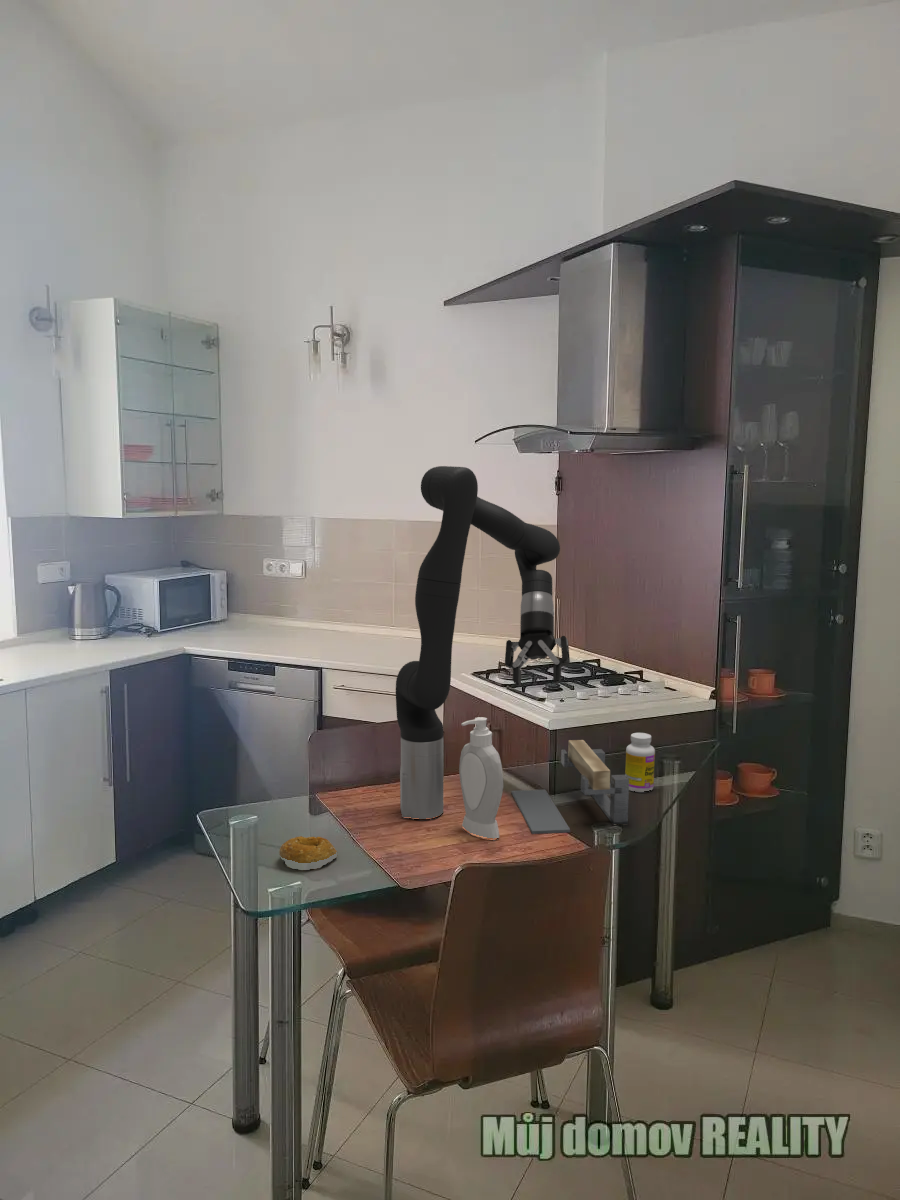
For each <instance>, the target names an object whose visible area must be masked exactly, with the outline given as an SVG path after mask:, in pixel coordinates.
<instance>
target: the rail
mask: <svg viewBox="0 0 900 1200" xmlns="http://www.w3.org/2000/svg"><path fill="white" fill-rule="evenodd" d="M567 742H568V750H567V753H568V758H569V759H570V760H571V761H572V763H573V764H574V765H575V767H574V768H576V769H577V770H578V772H579V773H580V774H581V775H585V776H586V777H587V779H588V784H589V785H590V786H591V787H592V789H593V790H603V789H610V783H611V769H609V767H607V765H606V763H605V764H604V763H603V762H602V761H601V760H600V758H599V757H598V756H597V755H596V754H595V753H594V752H593V750H592V748H591V747H590V745H588V743H586V741H585V740H584V739H572V740H571V739H568V741H567Z"/></svg>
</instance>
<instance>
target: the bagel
mask: <svg viewBox="0 0 900 1200" xmlns="http://www.w3.org/2000/svg"><path fill="white" fill-rule="evenodd" d="M336 852H337V853H338V851H337V850H336V848H335V847H334V845H333V843H332V842H331V841H329V839H328V838H324V837H322V836H316V837H315V836H308V837H307V836H306V837H305V836H302V835H300V836H295V837H292V838H289V839H288V840H286V841H285V842H284V843H282V844H281V846H280V848H279V851H278V854H279V856H281V857H282V858H285V859H287V860H292V861H295V862H298V863H311V862H317V861H319V860H324V859H327V858H329V857H330V856H332V855H334V854H336ZM281 857H280V858H281Z"/></svg>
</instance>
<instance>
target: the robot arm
mask: <svg viewBox="0 0 900 1200" xmlns="http://www.w3.org/2000/svg"><path fill="white" fill-rule="evenodd" d="M420 481H421V482H420V492H421V496H422V498H423V500H424V501H425V503H427V504H428V505H429V506H430V507H432V508H435V509H437V510H441V511H442V519H441V524H440V529H439V532H438V534H437V537H436V539H435V541H434V542H433V544H432V546H431V548H430V549H429V550H428V552H427V553H426V555H425V557H424V558H423V560H422V563H421V564H420V566H419V570H418V573H417V574H418V575H417V580H416V586H415V587H416V588H415V593H414V594H415V597H414V605H415V613H416V619H417V623H418V627H419V631H420V632H419V633H420V652H419V659H418V660H413V661H409V662H406V663H405V664H404V665H403V666H402V667H401V668H400V670H398V671H399V672H398V673H397V677H396V681H395V708H396V710H395V711H396V721H397V724H398V727H399V729H400V768H399V773H400V774H399V779H400V781H399V782H400V783H399V786H400V787H399V788H400V789H399V790H400V791H399V794H400V795H399V796H400V797H399V799H400V801H399V802H400V804H399V805H400V806H399V807H400V813H401V814H402V815H401V818H402V817H411V818H419V819H426V818H433V817H436V816H439V815H441V814H442V813H443V814H444V805H445V804H444V725H443V724H444V723H442V720H441V719H440V717H439V716H438V714H437V711H436V710H437V709H438V708H440V707H442V706H443V704H444V703H445V702H446V701H447V698H448V696H449V693H450V689H451V680H452V679H451V678H452V677H451V676H452V656H453V655H452V651H453V642H454V641H453V640H454V634H455V633H454V632H455V626H456V617H457V610H458V606H459V605H458V604H459V599H460V592H461V591H460V590H461V584H462V576H463V575H462V574H463V566H464V560H465V555H466V549H467V544H468V537H469V532H470V529H471V526H473V527H475V528H477V529H479V530H480V531H481V532H483V533H485V534H487V535H488V536H489V537H491V538H492V539H494V540H495V541H497V542H498V543H499V544H501V545H503V546H504V547H506V548H507V549H509V550H513V551H514V558H515V562H516V565H517V568H518V572H519V575H520V579H521V601H520V622H519V623H520V627H519V629H520V631H519V633H520V637H519V639H518V641H512V640H510V639H508V640H506V641H505V642H506V643H505V654H504V655H505V656H504V657H505V658H504V665H505V666H506V667H507V668H508V669H512V682H513V683H514V684H515V685H516V686H517V687H521V686H522V670H521V669H522V668H523V666H524V665H525V664H526V663H527V662H528V661H529V660H531V661H532V660H534V661H535V660H537V659H539V660H545V659H546V658H547V657H548V658H549V659H550V660H551V662H552V663H553V665H552V671H553V672H552V675H553V677H552V679H553V680H552V681H553V683H554V684H555V685H559V684H560V682H561V681H562V667H563V666H566V665H567V666H568V665H569V664H570V663H571V659H570V647H569V644H570V643H569V640H568V638H567V636H565V635H561V637H558V638H555V607H554V601H553V576H552V574H551V573H550V572H549V571H547V570H545V569H537V566H539V565H542V564H546V563H549V562H552V561H554V560H556V559H557V558H558V556H559V554H560V551H561V545H560V542H559V539H558V537H556V535H555V534H554V533H552V532H551V531H549V529H546V528H543V527H541V526H538V525H534V524H532V523H527V522H525V521H524V520H522V519H521V518H520V517H518V516H517V515H516V514H514V513H513V512H511V511H509V510H507V509H506V508H503V507H502V506H499V505H498V504H495V503H493V502H490V501H488V500H485V499H483V498H481V497H479V496H478V493H479V488H478V487H479V485H478V483H479V482H478V479H477V477H476V474H475V472H474V471H473V470H471V469H470V468H468V467H465V466H451V465H450V466H448V465H447V466H446V465H443V466H442V465H440V466H439V465H438V466H435V467H434V466H433V467H432V468H430V469H428V470H427V471H426V472H425V473H424V474H423V476H422V478H421V480H420ZM556 645H557V646H558V647H559V648H561V649H560V650H561V657H560V658H558V657H557V656H556V655H555V654H554V653H553V650H554V648H555V647H556ZM518 648H519V649H520V650H521V651H520V652H519V653H518V655H517V657H516V658H515V661H514V657H515V656H514V655H515V652H516V651H517V649H518ZM443 814H442V815H443ZM442 815H441V816H442Z"/></svg>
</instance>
